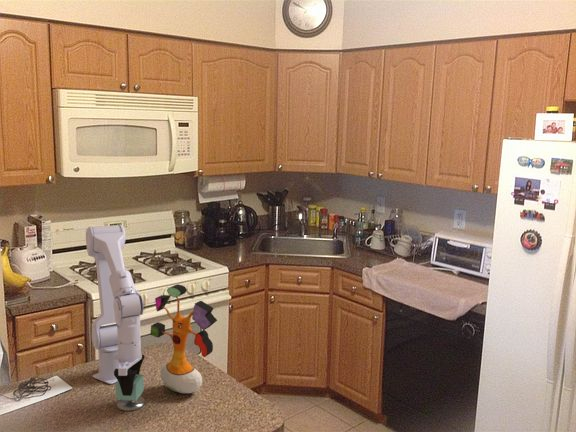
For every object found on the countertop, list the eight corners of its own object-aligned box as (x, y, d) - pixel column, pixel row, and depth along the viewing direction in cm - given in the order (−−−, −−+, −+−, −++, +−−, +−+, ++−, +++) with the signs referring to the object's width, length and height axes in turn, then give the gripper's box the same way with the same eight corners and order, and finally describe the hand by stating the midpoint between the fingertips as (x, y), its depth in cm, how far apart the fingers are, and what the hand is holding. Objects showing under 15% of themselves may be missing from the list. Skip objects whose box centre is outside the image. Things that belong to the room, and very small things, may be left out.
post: (131, 395, 150) (131, 379, 149) (150, 402, 146) (149, 387, 145) (111, 406, 144) (110, 390, 143) (129, 414, 140) (129, 397, 139)
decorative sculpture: (222, 393, 152) (222, 288, 147) (206, 406, 145) (206, 297, 139) (163, 377, 160) (161, 277, 155) (145, 389, 153) (143, 285, 148)
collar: (124, 389, 147) (123, 373, 146) (143, 390, 147) (143, 374, 146) (115, 399, 142) (115, 382, 141) (136, 400, 141) (135, 384, 141)
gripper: (120, 328, 149) (122, 375, 151) (105, 351, 134) (106, 402, 137) (147, 329, 149) (148, 376, 151) (134, 351, 135) (135, 403, 137)
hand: (130, 388), depth 144 cm, fingers closed on collar, 6 cm apart
